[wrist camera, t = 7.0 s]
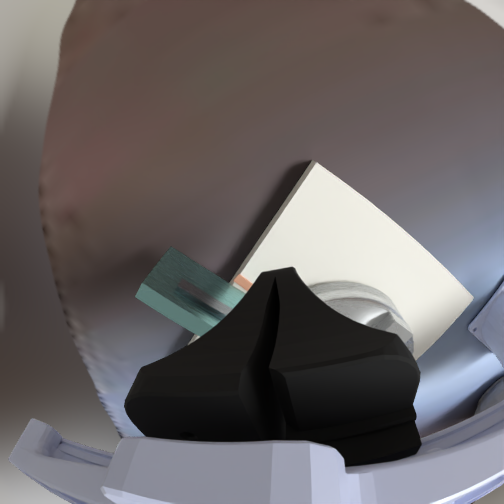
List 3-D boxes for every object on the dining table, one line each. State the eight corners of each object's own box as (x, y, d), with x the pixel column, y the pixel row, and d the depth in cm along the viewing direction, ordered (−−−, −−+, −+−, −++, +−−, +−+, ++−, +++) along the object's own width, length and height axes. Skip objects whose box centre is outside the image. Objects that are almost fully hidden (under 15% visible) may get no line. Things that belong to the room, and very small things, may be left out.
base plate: (465, 288, 18) (474, 298, 17) (327, 416, 26) (329, 428, 24) (310, 158, 16) (314, 161, 14) (177, 356, 23) (172, 369, 21)
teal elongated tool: (426, 327, 18) (450, 369, 14) (330, 405, 22) (336, 448, 18) (216, 173, 15) (193, 191, 10) (138, 307, 19) (110, 350, 14)
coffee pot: (494, 369, 23) (538, 453, 9) (533, 356, 22) (574, 421, 9) (426, 451, 32) (443, 517, 18) (470, 436, 31) (490, 493, 17)
